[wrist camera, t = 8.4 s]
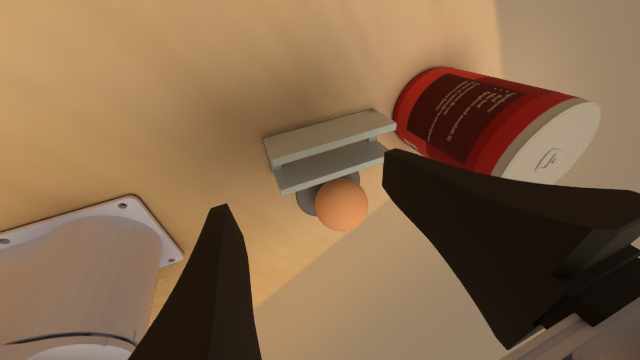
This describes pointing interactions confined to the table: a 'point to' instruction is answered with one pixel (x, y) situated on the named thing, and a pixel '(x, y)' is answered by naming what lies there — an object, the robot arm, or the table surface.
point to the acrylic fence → (327, 150)
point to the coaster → (309, 194)
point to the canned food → (494, 125)
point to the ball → (341, 204)
